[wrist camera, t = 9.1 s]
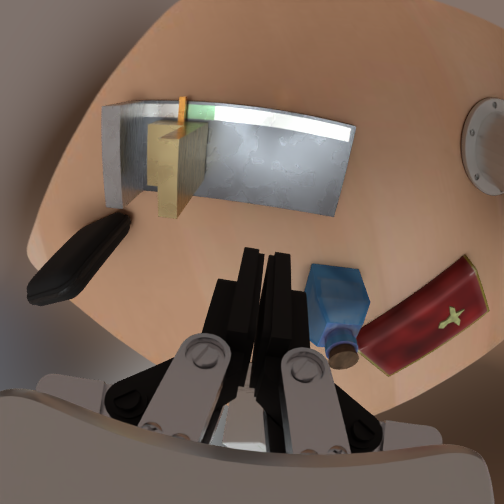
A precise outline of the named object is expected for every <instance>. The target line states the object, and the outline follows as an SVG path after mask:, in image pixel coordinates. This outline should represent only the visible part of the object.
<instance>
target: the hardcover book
mask: <svg viewBox="0 0 504 504" xmlns="http://www.w3.org/2000/svg"><path fill="white" fill-rule="evenodd" d="M488 312H489V307H488V304H487V300H486V297H485V294H484V290H483V287H482V284H481V281H480V278H479V275H478V272H477V270H476V268H475V266H474V265H473V264H472V262H471V261H470V260H469V259H468V257H467V256H466V255H464V256H462V257H461V258H460V259H459V260H457V261H456V262H455V263H454V264H452V265H451V266H450V267H449V268H447V269H446V270H445V271H444V272H442V273H441V274H440V275H438V276H437V277H436V278H434V279H433V280H432V281H430V282H429V283H428V284H426V285H425V286H424V287H422V288H421V289H419V290H418V291H417V292H415V293H414V294H412V295H411V296H410V297H408V298H407V299H405V300H404V301H402V302H401V303H399V304H398V305H396V306H395V307H393V308H392V309H390V310H389V311H387V312H386V313H384V314H383V315H381V316H380V317H378V318H377V319H375V320H373V321H372V322H370V323H369V324H367V325H365V326H364V327H362V328H361V329H360V331H359V333H358V335H357V337H356V340H357V345H358V351H357V352H358V353H359V354H361V355H362V356H363V357H364V358H366V359H367V360H368V361H369V362H371V363H372V364H373V365H374V366H376V367H377V368H378V369H379V370H381V371H382V372H383V373H384V374H385V375H387V376H388V377H389V376H391V375H393V374H395V373H397V372H399V371H400V370H402V369H404V368H406V367H408V366H409V365H411V364H413V363H414V362H416V361H418V360H420V359H421V358H423V357H425V356H426V355H428V354H429V353H431V352H433V351H434V350H436V349H437V348H439V347H440V346H442V345H443V344H445V343H447V342H448V341H449V340H451V339H452V338H454V337H455V336H457V335H458V334H460V333H461V332H462V331H464V330H465V329H467V328H468V327H469V326H471V325H472V324H473V323H475V322H476V321H477V320H479V319H480V318H481V317H483V316H484V315H485V314H486V313H488Z"/></svg>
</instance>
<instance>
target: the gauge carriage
mask: <svg viewBox="0 0 504 504" xmlns="http://www.w3.org/2000/svg"><path fill="white" fill-rule="evenodd" d="M186 106H187V97H180V98H179V111H178V121H173V120H159V121H156V122H153V123H150V124H148V135H147V185H150V186H158V217H166V218H173V219H177V218H178V216H179V215H180V214H181V212H182V211H183V209H184V208H185V206H186V205H187V203H188V202H189V200H190V199H191V198H192V196H193V195H194V193H195V192H196V191H197V189H198V188H199V186H200V185H201V184H202V182H203V181H204V173H205V159H206V146H207V135H208V124H209V123H206V122H192V121H185V118H186Z"/></svg>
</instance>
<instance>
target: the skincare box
mask: <svg viewBox="0 0 504 504" xmlns="http://www.w3.org/2000/svg"><path fill="white" fill-rule="evenodd" d="M251 366H252V363H249V368H248V372H247V377H246V381H245V385H244V387H240V386H239V387H238V392H237V397H236V398H235V399H234V400H232V401H230V403H229V409H228V414H227V419H226V425H225V430H224V435H223V440H222V443H223V444H224V445H226V446H227V447H229V448H234V449H241V450H250V451H259V452H266V444H265V432H264V421H263V408H262V407H261V406H260V405H259V404H258V403H257V402H256V397H254V390H255V389H254V388H249V383H250V374H251Z"/></svg>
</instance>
